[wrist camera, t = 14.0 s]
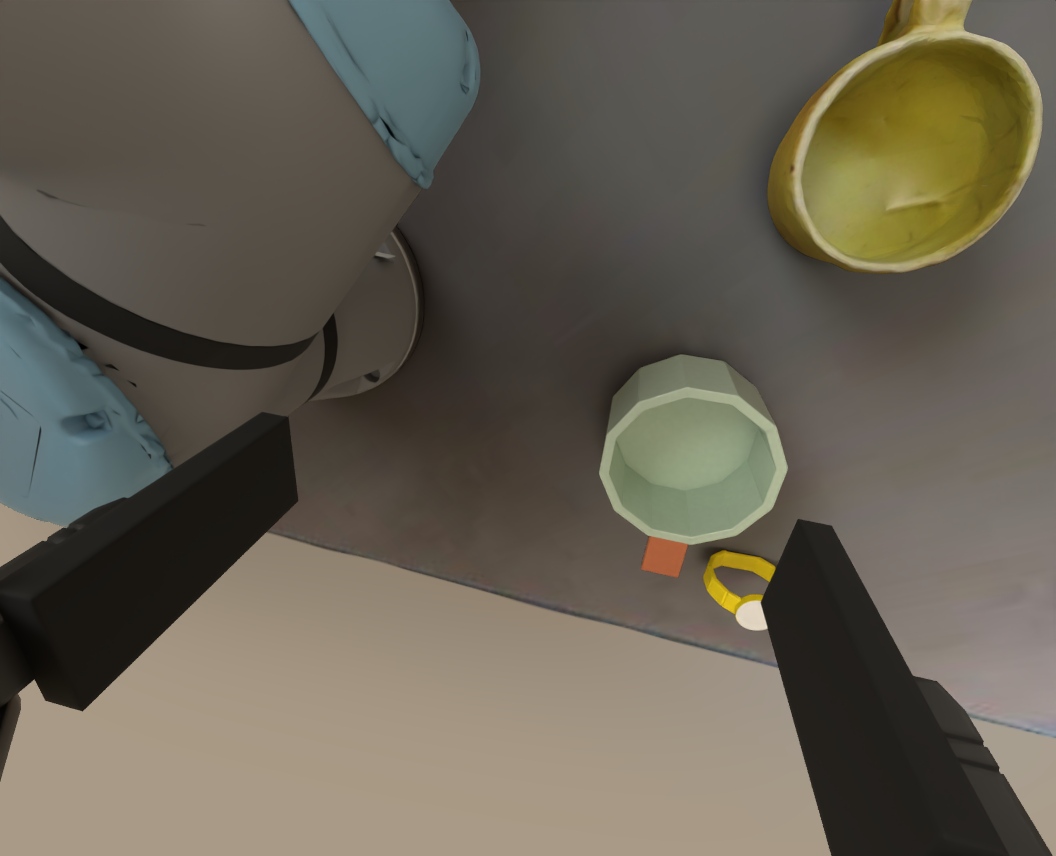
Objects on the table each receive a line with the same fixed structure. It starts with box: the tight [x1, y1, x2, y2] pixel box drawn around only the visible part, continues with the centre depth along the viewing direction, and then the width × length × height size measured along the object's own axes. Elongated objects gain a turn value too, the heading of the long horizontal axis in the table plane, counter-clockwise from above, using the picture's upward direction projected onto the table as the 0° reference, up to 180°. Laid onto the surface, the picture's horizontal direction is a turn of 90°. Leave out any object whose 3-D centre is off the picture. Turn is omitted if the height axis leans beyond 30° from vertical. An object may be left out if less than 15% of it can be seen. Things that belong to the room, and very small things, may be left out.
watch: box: [703, 550, 776, 630], centre depth 38 cm, size 6×3×6 cm, turn 83°
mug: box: [767, 0, 1043, 274], centre depth 25 cm, size 12×10×10 cm
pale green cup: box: [599, 354, 788, 577], centre depth 33 cm, size 13×10×6 cm
